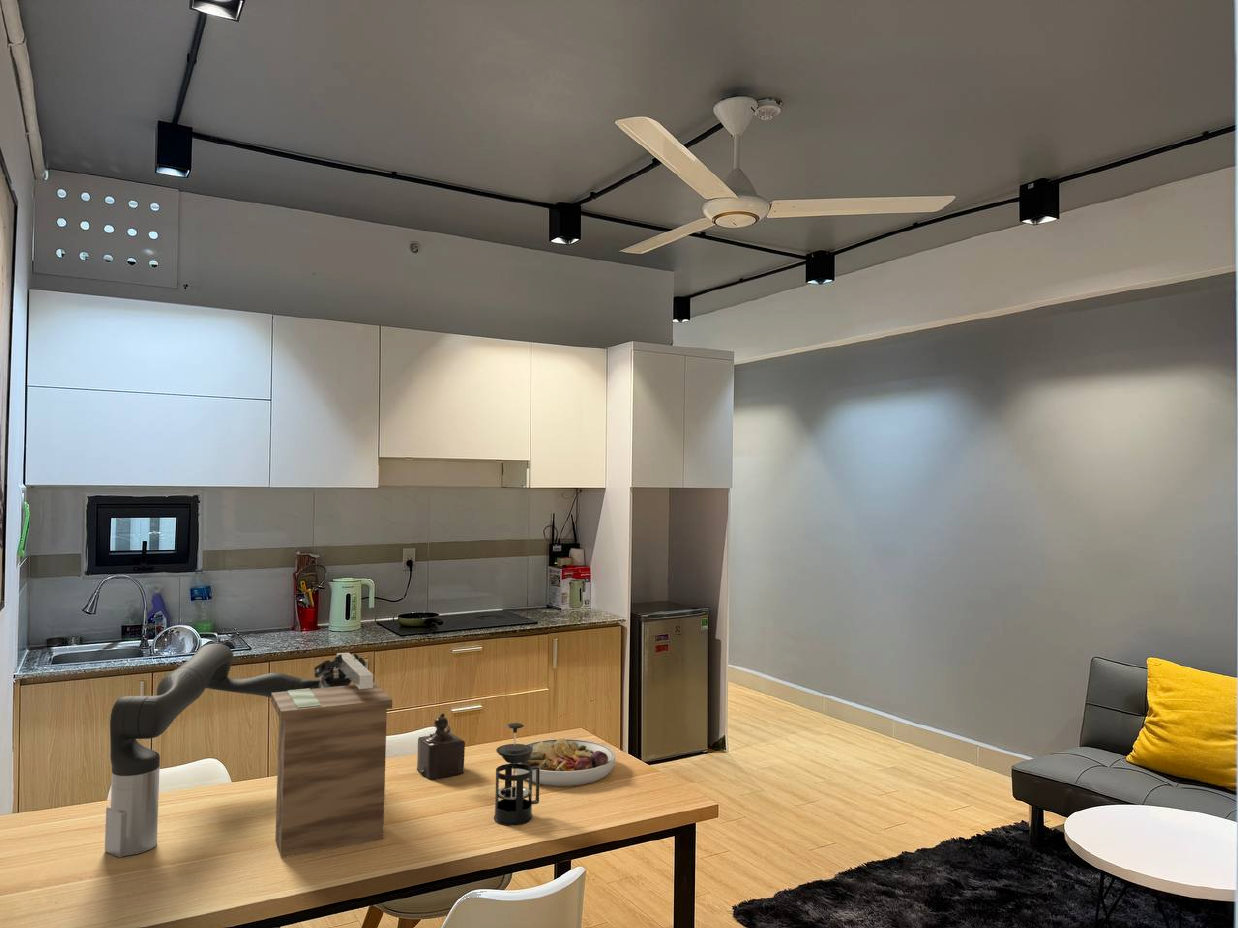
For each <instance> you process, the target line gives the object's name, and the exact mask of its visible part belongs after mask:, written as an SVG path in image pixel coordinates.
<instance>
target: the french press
mask: <svg viewBox="0 0 1238 928" xmlns="http://www.w3.org/2000/svg"><path fill="white" fill-rule="evenodd" d="M523 727H525V725H524V724H523V723H519V722H512V723H509V724H507V725H506V728H509V729H512V733H514V735H513V743H509V744H504V745H500V746H498V747H497V748H496V753H497V754H498V755H499V756H501V758H503V760H504V761H505V762H506V763H505V764H500V765H499V766H497V767H496V768H495V795H494V797H495V802H494V803H495V805H494V815H493V820H494V822H495V823H497V824H499V825H502V826H508V827H515V826H521V825H525V824H526V825H527V824H528V823H530V822H531V821H532V820H533V814H532V811H533V810H532V809H533V808H532V806H533V805H538V804H539V802H540V784H539V774H540V769H539V768H538V767H537V766H533V767H531V766H529V765H526V764H520V763H522V762H526V761H528V760H530V759H531V752H532V751H533V748H532V747H531V746H528V745H525V744H524V743H517V741H516V740H517V739H516V736H517V732H518V729H522V728H523ZM515 769H524V770H527V771H529V772H528V773H526V774H521V775H518V774H516V771H515ZM532 770H536V783H535V799H534V800H532V799H533V798H532V797H533V794H532V792H533V790H532V789H533V782H532ZM502 771H504V773H500V772H502ZM528 778H529V781H528V787H526V786H524V781H525V780H526V779H528ZM499 780H502V781H504V787H501V788H499V787H500V786H499V785H500V783H499V782H500V781H499ZM512 783H513V784H512ZM515 783H516V784H515ZM527 798H528V799H527ZM499 799H501V800H499Z"/></svg>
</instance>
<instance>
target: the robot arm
mask: <svg viewBox="0 0 1238 928" xmlns="http://www.w3.org/2000/svg"><path fill="white" fill-rule="evenodd" d="M351 655H352V656H353V657H354V658H355V659H357V660H358V661H359V662H360V663H361V664H362V665H363V666H364V667H365V668H367V669H368V663H367V662H366V660H364V658H363V657H359V654H357V653H352V654H351ZM233 661H234V652H233V650H232V649H231V648H230V647H229V646H227V645H226V644H222V643H209V644H205V645H202V646H201V647H200V648H199V649H198V650H197V651H196V652H195V653H194V654H192V657H191V658H189V659H188V660H186V661H185V662H184V663H183V664H181V665H180V666H178V667H177V668H176V669H174V670H172V671H171V672H169V673H168V674H166V675H165V676H164V677H163V678H162V679H161V680H160V681H159V684H158V685H157V688H156V695H129V696H128V695H125V696H122V697H119V698H118V699H117V700H116V701H115V702H114V705H112V706H113V707H112V709H111V714H110V718H109V738H110V739H109V740H110V744H109V745H110V747H109V748H110V753H109V754H110V763H111V785H110V786H111V787H110V788H111V789H110V806H107V807H106V810H105V830H104V831H105V832H104V833H105V834H104V836H105V837H104V852H106V853H107V854H111V855H113V856H115V857H117V858H122V857H126V856H134V855H137V854H141V853H145V852H148V851H149V850H151V849H153V848H154V847H155V846H157V844H158V823H159V822H158V821H159V799H160V798H159V794H160V792H159V791H160V771H161V770H160V762H161V761H160V760H161V757H160V754H159V752H157V751H156V750H154V749H150V748H148V747H146V746H144V745H142V744H141V743H140V742H138V740H149V739H154V738H157V737H159V736H161V735H163V734H164V732H166V730H167V729H168V728H169V727H170V726H171V725H172V723H173V722H174V721H175V720H176V719H177V717H178V716H180V714H181V713H183V711H184V710H186V708H188V707H189V706H190V705H191V704H193V703H195V701H197V700H198V699H199V698H200V697H201V696H202V695H203V693H204V692H205V690H206V689H209V690H216V691H222V692H228V693H237V694H246V695H254V696H261V697H265V698H270V699H271V693H275V692H285V691H287V690H297V689H308V688H309V689H316V688H327V687H337V686H348V685H351V683H353V682H352V681H351V680H350V679H349V678H348V677H347V676H346V675H345V674H344V673H343V671H342V670H341V669H340V668H339V667H340V665H341V663H342V655H338V657H337V656H335V657H334V658H333V659H332V661H331V660H328V659H327V660H325V661H323V662H322V663H320V664H318V665H317V666H315V667H314V668H313V669H314V678H311V679H310V678H302V677H297V676H294V675H291V674H287V673H283V672H269V673H264V674H260V675H256V676H252V677H248V678H235V677H234V678H232V677H229V674H230V670H231V667H232V665H233ZM315 678H317V679H315ZM318 678H319V679H318Z"/></svg>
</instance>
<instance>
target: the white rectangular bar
mask: <svg viewBox="0 0 1238 928" xmlns="http://www.w3.org/2000/svg"><path fill="white" fill-rule="evenodd" d="M338 655H342V663H341V665H340V667H339V668H340V669H341V670H342V671H343V673H344V674H345V675H346V676H347V677H348V678H349V679H350V680H351V681H352V682H351V683H353V685H356V686H357V687H358V688H359V689H366V688H373V683H374V674H373V673H372V672H371V671H370V670H369V669H368V667H367V668H365V667H364V666H363V665H362V664H361V663H360V662H359V661H358V660H357V659H355V658H354V657H353V656H352V655H353V654H351V653H350V652H339V653H336V657H338Z"/></svg>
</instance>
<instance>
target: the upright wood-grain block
mask: <svg viewBox="0 0 1238 928" xmlns="http://www.w3.org/2000/svg"><path fill="white" fill-rule="evenodd" d="M270 702H271V704H272V706H273V709H274V710H275V712H276V714H277V716H278V739H277V741H278V742H277V744H278V745H277V747H278V748H277V773H276V774H277V777H276V808H275V809H276V810H275V811H276V812H275V840H274V841H275V843H276V846H277V849H278V852H279V856H280V858H281V859H282V857H283V858H288V857H287V856H289V857H292V856H293V855H294V856H298V855H303V854H310V853H315V852H320V851H325V850H332V849H337V848H341V847H347V846H354V845H358V844H363V843H369V842H374V841H380V840H384V826H385V825H384V824H385V820H384V819H385V791H386V788H385V785H386V784H385V783H386V756H387V754H386V753H387V752H386V751H387V750H386V748H387V747H386V746H387V745H386V743H387V717H388V716H387V714H388V712H387V711H388V709H389V710H390V709H392V708H393V699H392V697H390V696H389V695H388V694H387V693H386V692H385V691H384V690H383V689H382V688H381V687H380V686H378V685H377V683H376V682H373V688H366V689H359V688H358V687H357V686H356V685H355V684H350V685H348V686H337V687H327V688H316V689H309V688H308V689H297V690H287V691H285V692H275V693H271V698H270Z"/></svg>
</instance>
